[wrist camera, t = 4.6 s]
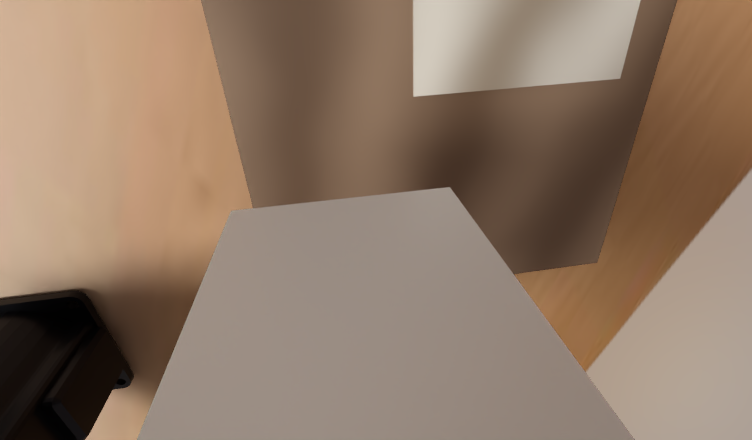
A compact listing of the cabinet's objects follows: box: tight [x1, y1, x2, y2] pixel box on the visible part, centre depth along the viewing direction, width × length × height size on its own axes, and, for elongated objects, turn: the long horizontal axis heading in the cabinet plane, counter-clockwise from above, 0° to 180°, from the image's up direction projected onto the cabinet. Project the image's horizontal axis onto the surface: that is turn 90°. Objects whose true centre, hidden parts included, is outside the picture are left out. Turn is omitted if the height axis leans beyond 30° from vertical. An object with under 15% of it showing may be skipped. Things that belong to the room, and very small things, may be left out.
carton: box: [137, 187, 635, 440], centre depth 7 cm, size 5×7×6 cm
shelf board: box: [201, 0, 677, 274], centre depth 14 cm, size 16×18×3 cm
